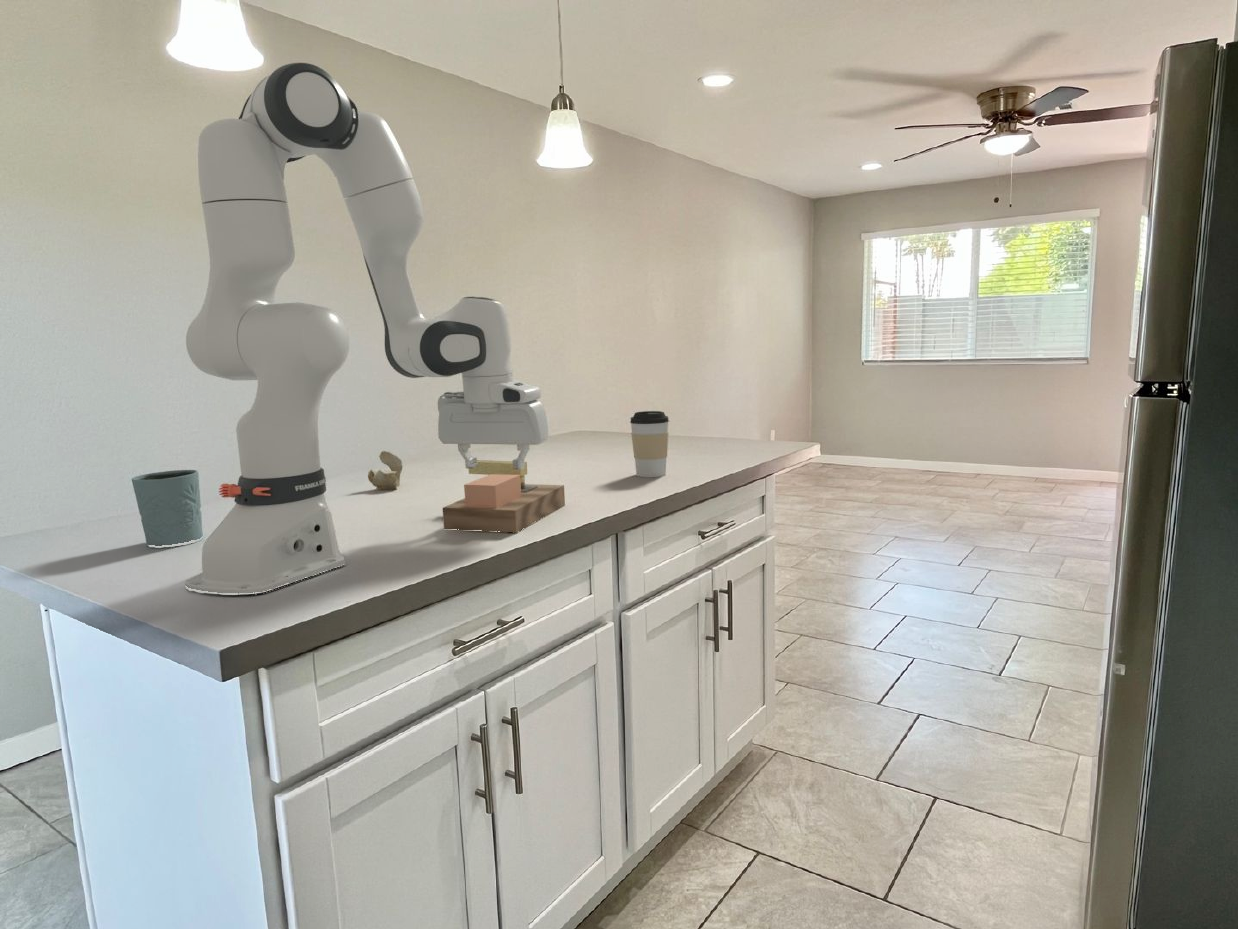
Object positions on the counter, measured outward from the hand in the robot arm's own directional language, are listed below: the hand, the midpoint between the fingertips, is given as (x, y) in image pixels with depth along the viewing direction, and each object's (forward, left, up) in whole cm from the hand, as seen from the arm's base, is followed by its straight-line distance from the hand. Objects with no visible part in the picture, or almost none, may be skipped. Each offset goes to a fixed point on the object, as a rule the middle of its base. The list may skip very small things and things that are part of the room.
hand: (495, 468), depth 140 cm
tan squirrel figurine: (+25, +40, -10) cm, 49 cm away
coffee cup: (+49, -15, -10) cm, 53 cm away
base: (+4, 0, -10) cm, 11 cm away
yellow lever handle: (+11, +5, -5) cm, 13 cm away
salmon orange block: (-1, 0, -6) cm, 6 cm away
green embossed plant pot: (-23, +51, -10) cm, 57 cm away
